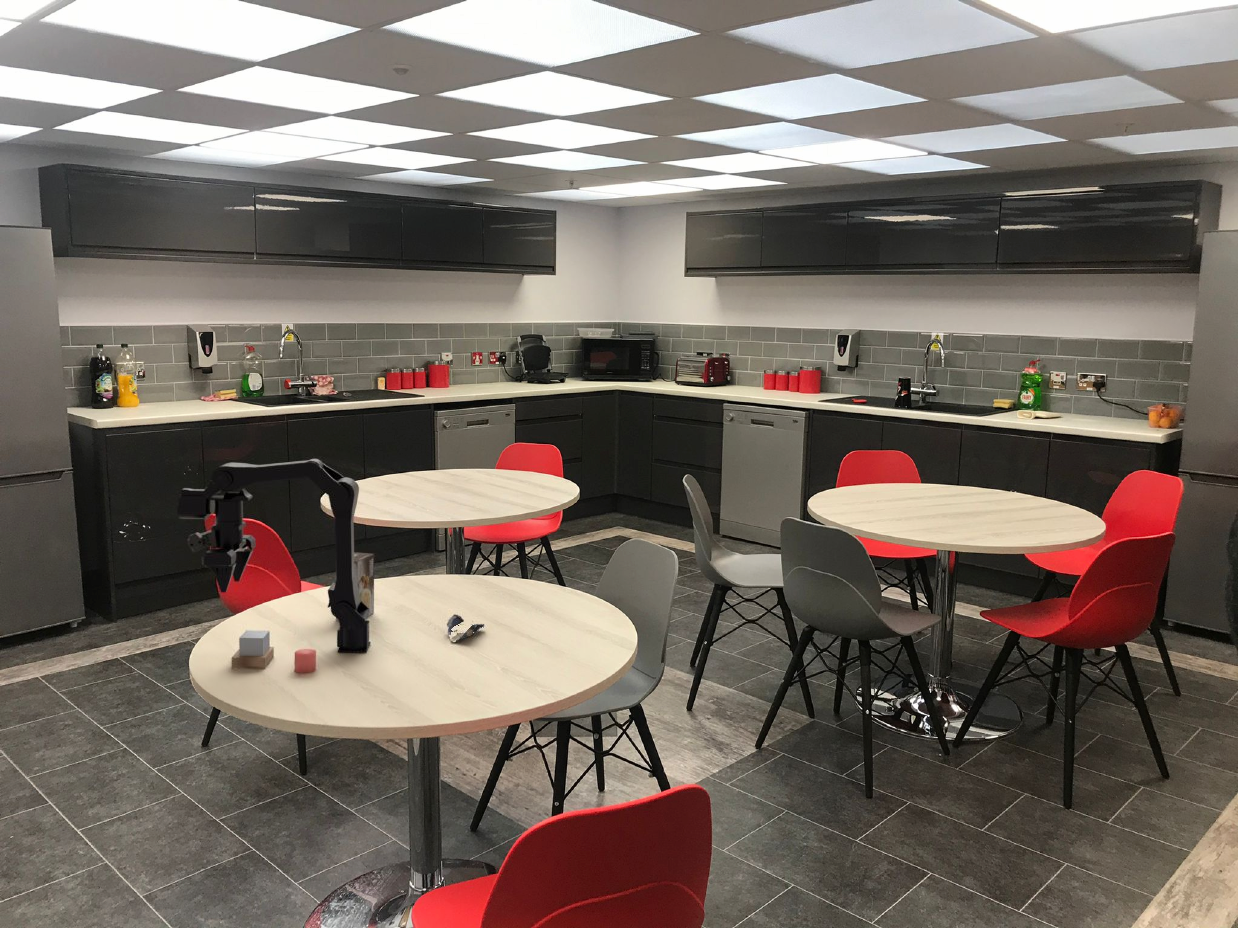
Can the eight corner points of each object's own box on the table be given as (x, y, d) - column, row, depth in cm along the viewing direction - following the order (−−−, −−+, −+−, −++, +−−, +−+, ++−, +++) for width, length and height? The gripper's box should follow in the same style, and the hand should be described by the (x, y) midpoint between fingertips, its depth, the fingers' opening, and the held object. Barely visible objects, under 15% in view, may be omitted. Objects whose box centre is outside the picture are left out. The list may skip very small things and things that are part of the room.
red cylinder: (317, 666, 204) (317, 648, 204) (313, 673, 200) (313, 655, 199) (297, 666, 204) (297, 648, 203) (292, 673, 200) (292, 655, 199)
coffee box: (352, 610, 245) (352, 551, 243) (374, 613, 244) (375, 553, 241) (334, 620, 236) (335, 559, 234) (358, 623, 235) (358, 561, 232)
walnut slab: (273, 659, 208) (273, 646, 208) (265, 670, 202) (265, 657, 201) (241, 659, 208) (241, 646, 207) (231, 670, 201) (231, 657, 200)
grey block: (269, 648, 207) (269, 630, 207) (263, 655, 202) (263, 638, 202) (246, 647, 207) (246, 630, 206) (239, 655, 202) (239, 637, 201)
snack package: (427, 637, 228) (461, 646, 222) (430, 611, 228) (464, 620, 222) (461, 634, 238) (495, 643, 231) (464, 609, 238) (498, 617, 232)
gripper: (206, 510, 217) (208, 575, 220) (176, 527, 199) (177, 597, 201) (255, 511, 218) (256, 576, 221) (229, 528, 200) (231, 598, 202)
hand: (230, 586), depth 211 cm, fingers open, 9 cm apart
